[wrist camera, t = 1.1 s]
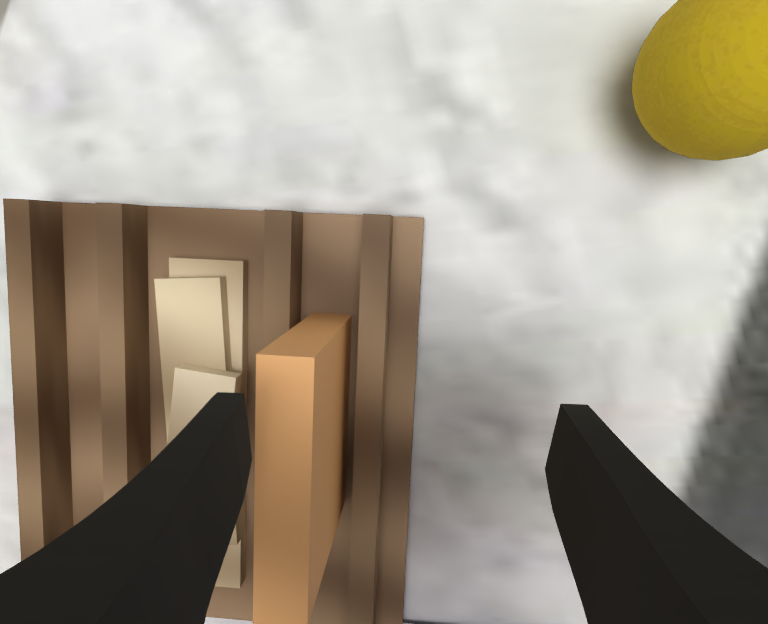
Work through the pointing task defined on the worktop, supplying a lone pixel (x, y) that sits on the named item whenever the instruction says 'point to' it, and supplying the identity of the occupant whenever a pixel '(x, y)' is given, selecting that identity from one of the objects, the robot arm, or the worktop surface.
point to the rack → (265, 324)
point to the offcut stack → (204, 356)
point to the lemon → (706, 79)
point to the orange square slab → (299, 463)
